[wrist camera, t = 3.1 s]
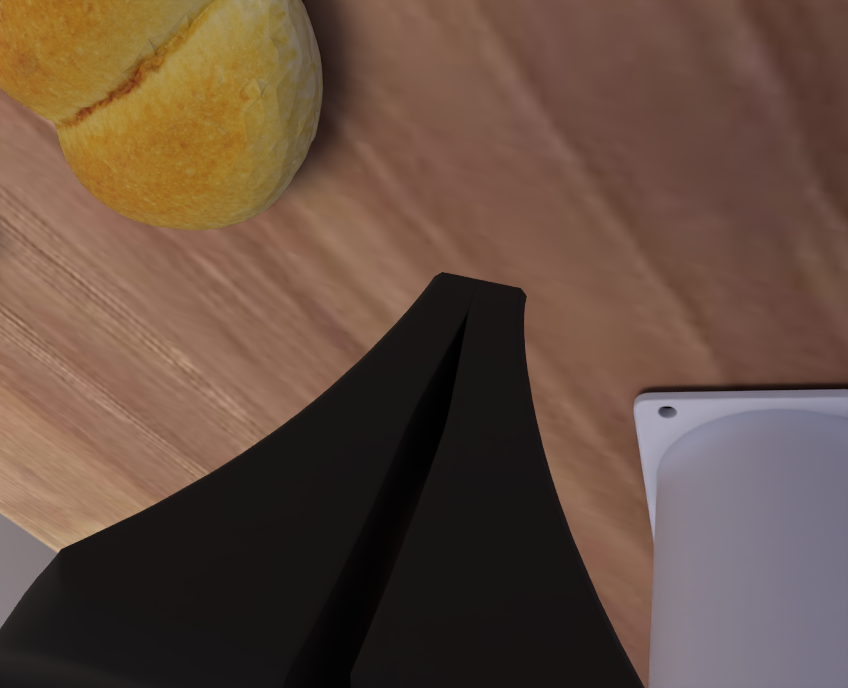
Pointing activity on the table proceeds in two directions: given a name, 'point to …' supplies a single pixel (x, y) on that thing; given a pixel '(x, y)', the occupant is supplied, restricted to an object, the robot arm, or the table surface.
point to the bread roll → (170, 99)
